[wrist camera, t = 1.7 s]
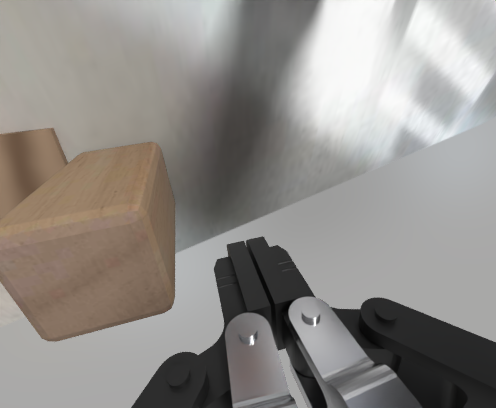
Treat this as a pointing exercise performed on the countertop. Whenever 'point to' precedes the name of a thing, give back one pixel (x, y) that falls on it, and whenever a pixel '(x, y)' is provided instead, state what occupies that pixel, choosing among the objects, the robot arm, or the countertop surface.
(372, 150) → the countertop surface
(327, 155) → the countertop surface
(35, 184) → the cutting board
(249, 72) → the countertop surface
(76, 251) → the block
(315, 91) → the countertop surface
